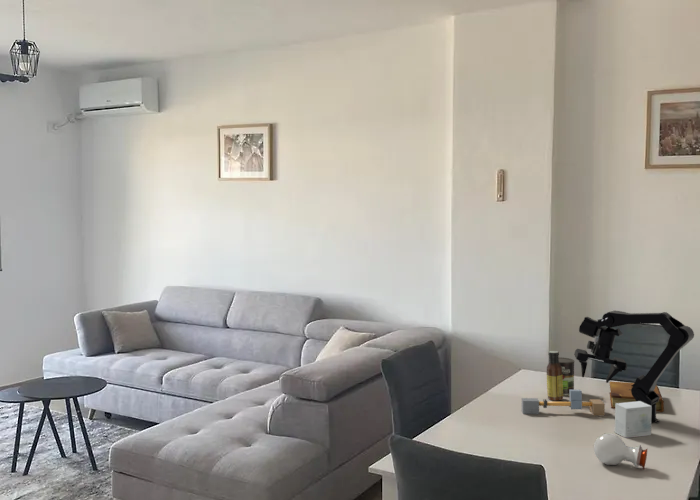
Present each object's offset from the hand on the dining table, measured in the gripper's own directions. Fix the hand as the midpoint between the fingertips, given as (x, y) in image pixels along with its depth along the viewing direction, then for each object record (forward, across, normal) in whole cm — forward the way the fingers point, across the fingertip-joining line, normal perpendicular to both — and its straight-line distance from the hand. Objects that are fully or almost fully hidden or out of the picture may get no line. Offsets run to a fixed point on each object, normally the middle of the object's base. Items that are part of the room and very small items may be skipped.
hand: (594, 379), depth 263 cm
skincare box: (+6, -9, +29) cm, 31 cm away
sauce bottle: (+17, +9, -12) cm, 23 cm away
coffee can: (+18, +5, -23) cm, 30 cm away
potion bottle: (+4, +3, +60) cm, 60 cm away
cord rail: (+14, +9, +6) cm, 17 cm away
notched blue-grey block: (+11, +6, +6) cm, 14 cm away
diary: (+10, -21, -11) cm, 26 cm away
